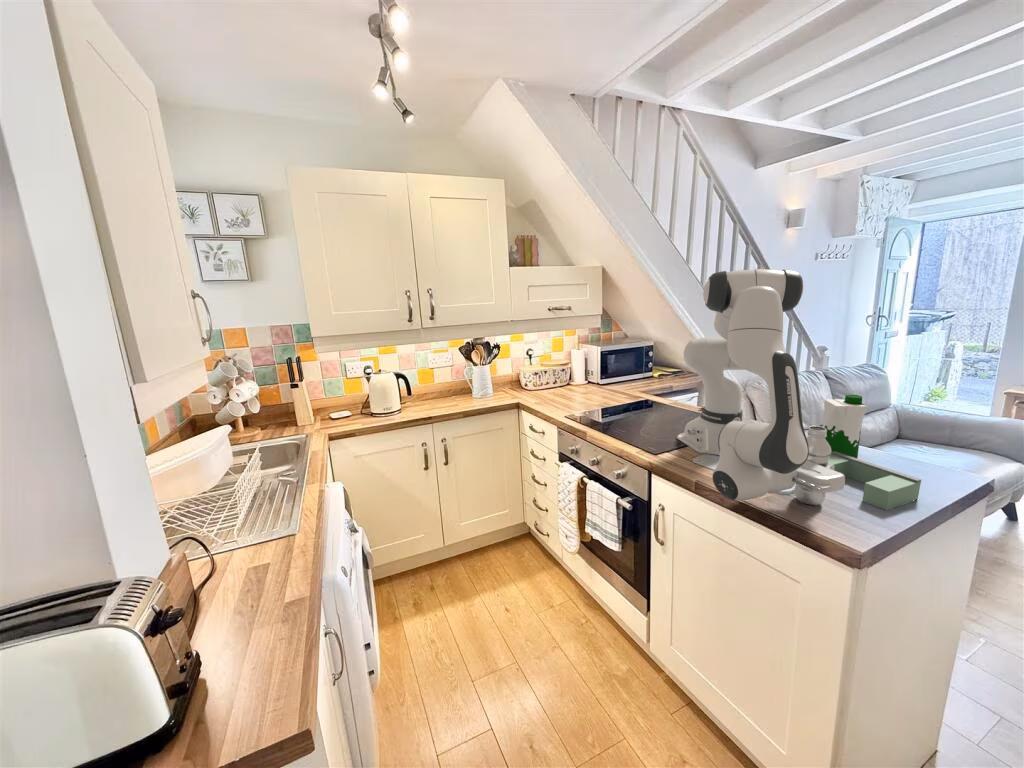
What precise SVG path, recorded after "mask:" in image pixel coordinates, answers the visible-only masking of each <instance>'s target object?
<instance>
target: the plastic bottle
mask: <svg viewBox="0 0 1024 768" xmlns="http://www.w3.org/2000/svg"><path fill="white" fill-rule="evenodd" d="M826 433H827V429H826V428H823V427H822V426H819V425H817V426H816V425H811V426H809V427H808V431H807V435H808V436H806V438H807V442H808V446H809V455H808V458H807V461H810V462H813V463H815V464H818V465H821V466H823V464H827V463H828V461H829V458H830V455H831V447H830V445H829V443H828V442H827V441H826V439H825V438H826V437H827V434H826ZM793 490H794V492H793V493H794V496H795V498H796V499H797V500H798V501H799V502H801V503H802V504H806V505H811V506H819V505H821V504H823V503H824V501H825V499H826V497H827V495H826V494H827V492H826V493H819V492H814V491H812V490H809V489H807V488H805V487H802V486H800V485H798V484H795V485H794V489H793Z"/></svg>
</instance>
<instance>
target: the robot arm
mask: <svg viewBox="0 0 1024 768" xmlns="http://www.w3.org/2000/svg"><path fill="white" fill-rule="evenodd" d="M702 291H703V293H702V296H703V301H704V303H705V306H706V308H707V309H709V310H710V311H714V312H715V313H716V314H715V317H714V322H713V325H714V326H713V327H714V330H715V332H716V333H717V334H718V335H719V336H709V337H708V336H707V337H699V338H695V339H692V340H689V341H688V342H687V343H686V345H685V347H684V350H683V360H684V362H685V364H686V365H687V366H688V367H689V368H691V369H692V370H693V371H694V372H695V373H696V374H697V375H698V376H699V378H700V379H701V381H702V384H703V388H704V406H703V407H699V408H697V409H698V412H700V414H699V416H697V417H696V418H694V419H692V420H690V421H689V422H687V423H686V425H685V428H684V432H682V433H679V434H678V435H677V436H676V438H677V440H679V441H680V442H682V443H683V444H685V445H687V446H688V447H689V448H691V449H693V450H694V451H696V452H697V453H700V454H710V455H717V456H719V459H718V463H717V465H716V467H715V468H714V470H713V472H712V477H711V478H712V482H713V485H714V487H715V489H716V490H717V491H718V493H720V494H721V495H722V496H723V497H724V498H726V499H728V500H731V501H736V502H739V501H741V502H742V501H749V500H753V499H758V498H760V497H764V496H765V495H767V494H775V493H778V492H783V491H785V490H790V489H792V488H793V487H795V485H796V484H798V485H800V486H802V487H805V488H807V489H809V490H812V491H814V492H819V493H826V494H827V493H831V492H833V493H834V492H838V491H841V490H843V489H844V487H845V483H846V477H845V476H844V474H842V473H840V472H837V471H834V467H835V466H834V465H832V464H829V463H827V464H823V466H821V465H818V464H815V463H813V462H810V461H807V458H808V455H809V446H808V442H807V434H806V431H805V428H804V421H803V414H802V413H803V412H802V411H803V410H802V403H801V393H800V384H799V376H798V369H797V364H796V361H795V359H794V357H793V355H791V354H790V353H788V352H787V351H786V349H785V345H784V341H783V340H784V339H783V335H784V334H783V333H784V313H785V312H790V311H792V310H793V309H794V308H796V307H797V306H798V305H799V302H800V301H801V298H802V297H803V293H804V280H803V277H802V275H800V273H799V272H798V271H795V270H789V269H782V270H779V269H770V268H768V269H767V268H760V269H759V268H754V269H743V270H741V269H740V270H732V271H726V270H723V271H717V272H714V273H712V274H711V275H710V276H709V277H708V279H707V281H706V283H705V284H704V287H703V290H702ZM726 370H727V371H734V370H735V371H738V370H739V371H740V370H741V371H748V372H750V373H753V374H755V375H757V376H759V377H760V378H762V380H763V381H764V382H765V384H766V385H767V388H768V395H769V396H768V397H769V399H768V400H769V411H770V423H769V424H766V423H756V422H752V421H751V422H750V421H743V409H742V405H743V404H742V403H743V402H742V401H743V388H742V387H741V385H740V384H739V382H736V381H734V380H732V379H730V378H727V377H726V376H724V371H726Z"/></svg>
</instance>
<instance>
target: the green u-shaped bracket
mask: <svg viewBox="0 0 1024 768" xmlns="http://www.w3.org/2000/svg"><path fill="white" fill-rule="evenodd" d="M828 463H829V464H832V465H834V466H835V467H834V471H837V472H840V473H842V474H844V476H845V478H847V477H848V478H850V479H853V480H856V481H859V482H861V483H863V484H864V488H863V489H864V490H863V494H862V502H865V503H867V504H869V505H872V506H874V507H877V508H879V509H882V510H885V511H888V509H889V510H892V509H894V507H895V508H897V506H898V507H900V505H901V506H903V505H902V504H904V505H906V504H905V503H907V504H909V503H908V502H910V503H912V502H911V501H913V500H916V499H918V500H919V494H920V489H921V488H920V487H921V483H922V479H921V478H919V477H915V476H911V475H908V474H906V473H902V472H900V471H897V470H894V469H891V468H887V467H884V466H881V465H878V464H875V463H872V462H868V461H865V460H864V459H859V458H854V457H851V456H848V455H845V454H842V453H839V452H835V451H833V452H831V455H830V458H829V461H828ZM916 501H917V500H916ZM913 502H914V501H913ZM891 508H892V509H891Z"/></svg>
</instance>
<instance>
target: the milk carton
mask: <svg viewBox="0 0 1024 768" xmlns="http://www.w3.org/2000/svg"><path fill="white" fill-rule="evenodd" d="M844 397H845V398H844V399H839V398H834V399H824V401H823V403H824V408H823V419H822V425H821V427H823V428H826V429H827V433H826V434H827V437H826V438H825V439H826V441H827V442H828V443H829V445H830V447H831V452H833V451H835V452H839V453H842V454H845V455H848V456H851V457H854V458H857V459H859V458H858V457H859V449H860V447H859V446H860V441H861V440H860V439H861V432H862V426H863V420H864V417H865V414H866V411H867V408H868V406H867V405H865V404H863V396H861V395H857V394H845V396H844Z"/></svg>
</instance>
